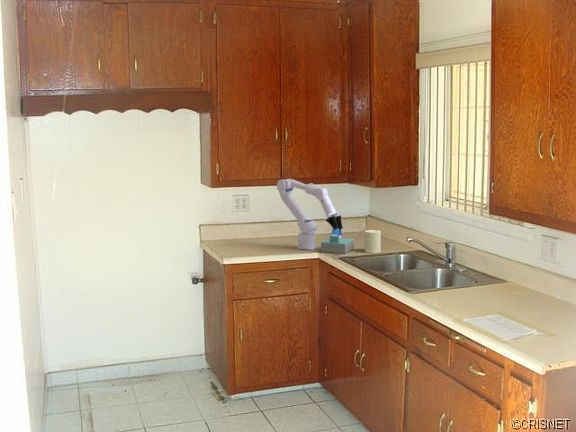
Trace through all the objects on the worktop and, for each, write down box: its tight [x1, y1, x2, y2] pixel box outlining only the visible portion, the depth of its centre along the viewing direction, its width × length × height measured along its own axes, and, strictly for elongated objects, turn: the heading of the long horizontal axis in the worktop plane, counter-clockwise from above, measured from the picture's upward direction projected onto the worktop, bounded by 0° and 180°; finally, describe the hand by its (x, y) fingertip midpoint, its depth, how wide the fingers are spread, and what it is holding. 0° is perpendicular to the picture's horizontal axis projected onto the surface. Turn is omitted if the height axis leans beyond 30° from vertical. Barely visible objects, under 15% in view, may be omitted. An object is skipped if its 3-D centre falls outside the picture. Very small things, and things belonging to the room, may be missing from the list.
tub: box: [320, 237, 355, 255], centre depth 392 cm, size 14×16×6 cm
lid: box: [320, 235, 349, 245], centre depth 388 cm, size 14×8×5 cm, turn 67°
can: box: [363, 229, 382, 254], centre depth 389 cm, size 9×9×12 cm
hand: (338, 229), depth 387 cm, fingers open, 7 cm apart
